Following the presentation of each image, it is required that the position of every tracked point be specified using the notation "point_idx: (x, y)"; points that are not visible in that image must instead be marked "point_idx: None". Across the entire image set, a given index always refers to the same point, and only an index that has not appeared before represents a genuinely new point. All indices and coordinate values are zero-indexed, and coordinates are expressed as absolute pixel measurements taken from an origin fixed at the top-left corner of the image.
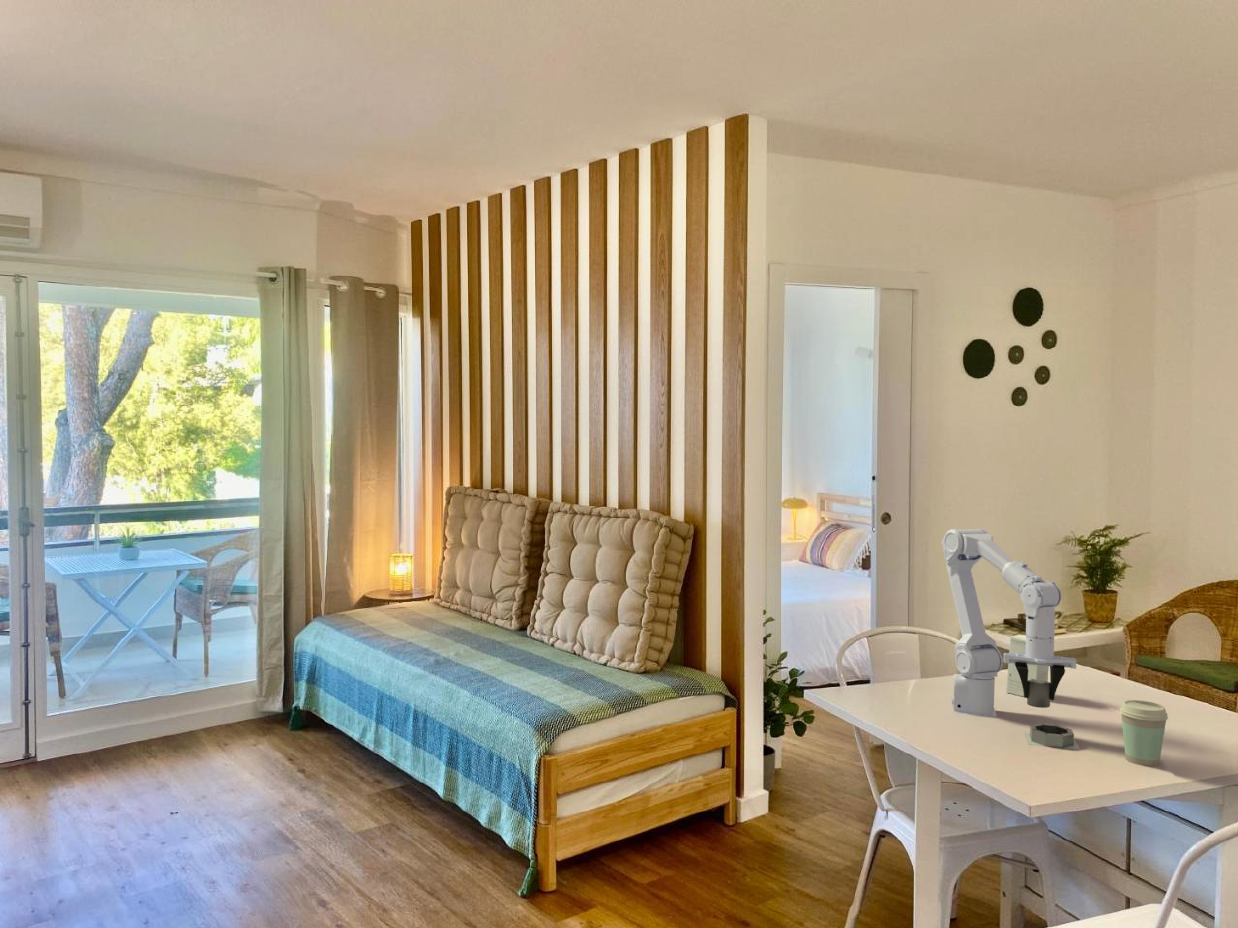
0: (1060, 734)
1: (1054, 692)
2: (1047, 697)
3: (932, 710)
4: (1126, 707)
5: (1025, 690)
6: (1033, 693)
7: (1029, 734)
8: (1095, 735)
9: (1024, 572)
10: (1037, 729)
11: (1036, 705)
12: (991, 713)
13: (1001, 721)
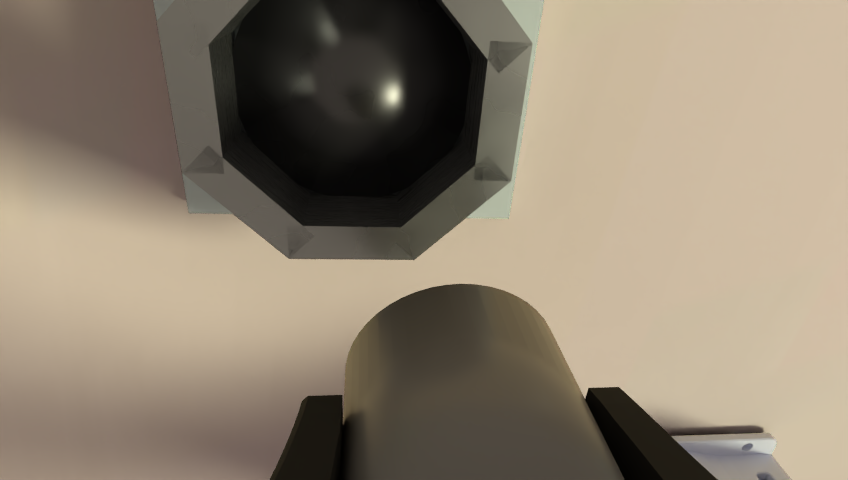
0: (280, 175)
1: (286, 471)
2: (384, 393)
3: (842, 453)
4: None
5: (670, 447)
6: (572, 406)
7: None
8: (71, 355)
9: None
10: (450, 169)
11: (498, 297)
12: None
13: None
